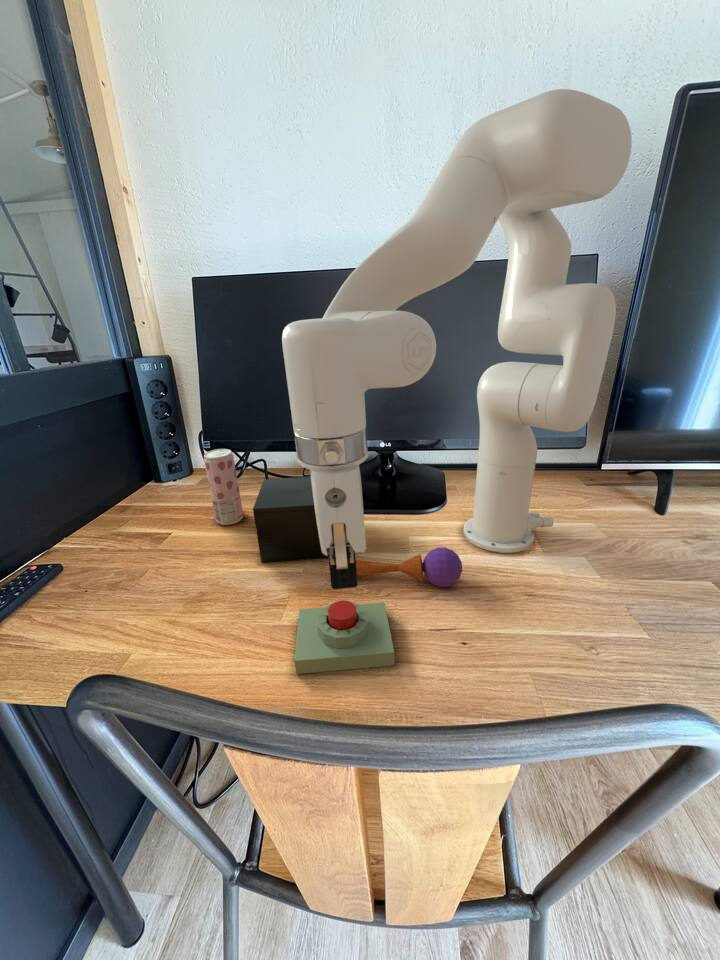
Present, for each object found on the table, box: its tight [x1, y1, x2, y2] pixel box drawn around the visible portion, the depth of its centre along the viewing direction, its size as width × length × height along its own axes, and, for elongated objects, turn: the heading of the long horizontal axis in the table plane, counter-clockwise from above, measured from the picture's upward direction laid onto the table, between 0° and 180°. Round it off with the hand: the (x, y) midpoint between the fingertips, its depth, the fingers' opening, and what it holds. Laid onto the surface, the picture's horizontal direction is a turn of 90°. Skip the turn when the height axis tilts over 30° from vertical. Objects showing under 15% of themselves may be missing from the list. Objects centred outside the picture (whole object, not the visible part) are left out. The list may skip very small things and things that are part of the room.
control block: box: [294, 600, 395, 675], centre depth 52 cm, size 12×9×4 cm
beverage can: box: [203, 448, 244, 526], centre depth 82 cm, size 6×6×15 cm
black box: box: [253, 509, 349, 564], centre depth 74 cm, size 16×13×10 cm
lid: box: [252, 476, 315, 514], centre depth 71 cm, size 16×13×5 cm
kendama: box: [356, 546, 463, 588], centre depth 63 cm, size 6×6×20 cm
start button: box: [328, 599, 357, 631], centre depth 51 cm, size 4×4×2 cm
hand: (344, 583), depth 50 cm, fingers closed
